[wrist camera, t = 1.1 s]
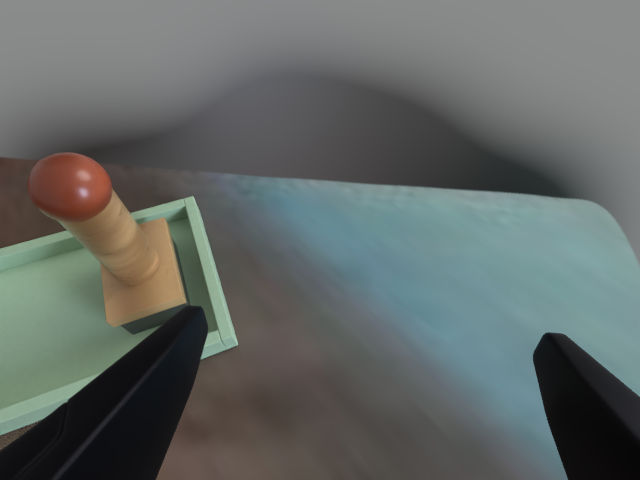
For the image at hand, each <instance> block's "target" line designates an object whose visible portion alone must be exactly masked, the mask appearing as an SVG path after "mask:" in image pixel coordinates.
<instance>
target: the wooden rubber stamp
mask: <svg viewBox="0 0 640 480" xmlns="http://www.w3.org/2000/svg"><path fill="white" fill-rule="evenodd" d="M27 187H28V193H29V196H30V198H31V200H32V202H33V203H34V205H35V206H36V207H37V208H38V209H39V210H40V211H41V212H42V213H44V214H45V215H46V216H48V217H50V218H52V219H55V220H57V221H58V222H59V223H60V224H61V225H62V226H63V227H64V228H65V229H66V230H67V231H68V232H70V233H71V234H72V235H73V236H74V237H75V238H76V239H77V240H78V241H79V242H80V243H81V244H82V245H83V246H84V247H85V248H86V249H87V250H88V251H89V252H90V253H91V254H92V255H93V256H94V257H95V258H96V259H97V260H98V261H99V262H100V267H101V276H102V286H103V295H104V305H105V314H106V322H107V323H108V324H110V325H111V326H113V327H116V326H119V325H120V326H122V327H123V328H124V329H126V330H127V331H128V332H130V333H131V334H133V335H134V334H137V333H140V332H142V331H145V330H148V329H151V328H154V327H157V326H160V325H163V324H164V323H165V322H166V321H168V320H169V319H170V318H171V317H173V316H174V315H175V314H176V313H178V312H179V311H180V310H181V309H183V308H184V307H185V306H188V305H190V300H189V296H188V292H187V287H186V283H185V279H184V275H183V270H182V266H181V262H180V258H179V253H178V249H177V245H176V243H175V242H174V240H173V238H172V237H171V232H170V228H169V224H168V223H167V221H166V219H165V218H164V217H163V218H159V219H156V220H152V221H149V222H145V223H142V224H137V223H136V221H135V220H134V218H133V217H132V216H131V214H130V213H129V211H128V210H127V208H126V207H125V206H124V204H123V203H122V201H121V200H120V198H119V197H118V196H117V194H116V193H115V191H114V190H113V189H112V183H111V180H110V178H109V176H108V174H107V172H106V171H105V170H104V168H103V167H102V166H101V165H99V164H98V163H97V162H95V161H94V160H92V159H91V158H88V157H86V156H84V155H81V154H77V153H69V152H65V153H56V154H52V155H50V156H47V157H45V158H43V159H42V160H40V161H39V162H38V163H37V164H36V165H35V166H34V167H33V168H32V170H31V172H30V174H29V177H28V183H27Z"/></svg>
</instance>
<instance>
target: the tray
mask: <svg viewBox="0 0 640 480" xmlns="http://www.w3.org/2000/svg"><path fill="white" fill-rule="evenodd" d="M130 214H131V216H132V217H133V218H134V220H135V221H136V223H137V224H142V223H145V222H149V221H152V220H156V219H159V218H163V217H164V218H165V219H166V221H167V223H168V224H169V228H170V232H171V237H172V238H173V240H174V242H175V243H176V245H177V249H178V253H179V258H180V262H181V266H182V270H183V275H184V279H185V283H186V287H187V292H188V296H189V300H190V305H194V306H201V307H202V308H203V309H204V313H205V316H206V320H207V324H208V334H207V338H206V342H205V345H204V349H203V353H202V356H201V359H203V358H206V357H209V356H211V355H214V354H217V353H219V352H222V351H224V350H227V349H230V348H232V347H235V346H238V342H237V339H236V335H235V332H234V328H233V325H232V321H231V318H230V314H229V311H228V308H227V304H226V301H225V297H224V294H223V290H222V287H221V283H220V280H219V276H218V273H217V269H216V266H215V262H214V259H213V256H212V252H211V249H210V245H209V242H208V238H207V235H206V231H205V228H204V224H203V221H202V217H201V214H200V211H199V208H198V206H197V204H196V201H195V199H194V197H193V196H191V197H188V198H184V200H183V199H180V200H177V201H173V202H169V203H166V204H162V205H158V206H155V207H151V208H147V209H144V210H140V211H136V212H133V213H130ZM160 326H161V325H160ZM160 326H157V327H154V328H151V329H148V330H145V331H142V332H140V333H137V334H134V335H133V334H131V333H130V332H128V331H127V330H126V329H124V328H123V327H122V326H120V325H119V326H116V327H113V326H111V325H110V324H108V323H107V322H106V314H105V305H104V295H103V286H102V276H101V267H100V262H99V261H98V260H97V259H96V258H95V257H94V256H93V255H92V254H91V253H90V252H89V251H88V250H87V249H86V248H85V247H84V246H83V245H82V244H81V243H80V242H79V241H78V240H77V239H76V238H75V237H74V236H73V235H72V234H71V233H70V232H68V231H63V232H59V233H56V234H52V235H48V236H45V237H41V238H38V239H34V240H30V241H27V242H23V243H19V244H16V245H12V246H8V247H5V248H1V249H0V435H3V434H5V433H8V432H11V431H13V430H16V429H19V428H21V427H24V426H27V425H29V424H32V423H35V422H37V421H40V420H42V419H44V418H45V417H47V416H48V415H49V414H50V413H52V412H53V411H54V410H56V409H57V408H58V407H59V406H61V405H62V404H63V403H65V402H67V401H68V399H70V398H71V397H72V396H73V395H75V394H76V393H77V392H78V391H80V390H81V389H82V388H83V387H85V386H86V385H87V384H88V383H90V382H91V381H92V380H93V379H95V378H96V377H97V376H98V375H100V374H101V373H102V372H103V371H105V370H106V369H107V368H108V367H110V366H111V365H112V364H114V363H115V362H116V361H117V360H119V359H120V358H121V357H122V356H124V355H125V354H126V353H127V352H129V351H130V350H131V349H132V348H134V347H135V346H136V345H137V344H139V343H140V342H141V341H142V340H144V339H145V338H146V337H147V336H149V335H150V334H151V333H152V332H154V331H155V330H156V329H158V328H159V327H160Z"/></svg>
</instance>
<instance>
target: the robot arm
mask: <svg viewBox="0 0 640 480" xmlns="http://www.w3.org/2000/svg"><path fill="white" fill-rule="evenodd" d="M207 334H208V324H207V320H206V316H205V313H204V309H203V308H202V307H201V306H194V305H188V306H185V307H184V308H183V309H181V310H180V311H179V312H178V313H176V314H175V315H174V316H173V317H171V318H170V319H169V320H168V321H166V322H165V323H164V324H163V325H161V326H160V327H159V328H158V329H156V330H155V331H154V332H152V333H151V334H150V335H149V336H147V337H146V338H145V339H144V340H142V341H141V342H140V343H139V344H137V345H136V346H135V347H134V348H132V349H131V350H130V351H129V352H127V353H126V354H125V355H124V356H122V357H121V358H120V359H119V360H117V361H116V362H115V363H114V364H112V365H111V366H110V367H108V368H107V369H106V370H105V371H103V372H102V373H101V374H100V375H98V376H97V377H96V378H95V379H93V380H92V381H91V382H90V383H88V384H87V385H86V386H85V387H83V388H82V389H81V390H80V391H78V392H77V393H76V394H75V395H73V396H72V397H71V398H70V399H68V401H67V402H65V403H63V404H62V405H61V406H59V407H58V408H57V409H56V410H54V411H53V412H52V413H50V414H49V415H48V416H47V417H45V418H44V419H43V420H41V421H40V422H39V423H38V424H36V425H35V426H34V427H32V428H31V429H30V430H28V431H27V432H26V433H24V434H23V435H22V436H20V437H19V438H17V439H16V440H15V441H13V442H12V443H11V444H9V445H8V446H6V447H5V448H4V449H2V450H1V451H0V480H156V478H157V475H158V473H159V470H160V468H161V465H162V463H163V460H164V458H165V455H166V453H167V450H168V448H169V445H170V443H171V440H172V438H173V435H174V433H175V430H176V428H177V425H178V423H179V420H180V418H181V415H182V413H183V410H184V408H185V405H186V403H187V400H188V398H189V395H190V393H191V390H192V387H193V384H194V381H195V378H196V374H197V371H198V367H199V363H200V360H201V356H202V353H203V349H204V345H205V342H206V338H207ZM533 362H534V366H535V371H536V375H537V379H538V383H539V388H540V392H541V396H542V400H543V405H544V409H545V413H546V417H547V420H548V423H549V426H550V429H551V432H552V435H553V438H554V441H555V444H556V446H557V449H558V452H559V455H560V458H561V461H562V463H563V466H564V469H565V472H566V475H567V478H568V480H640V397H639V396H638V395H637V394H636V393H634V392H633V391H632V390H631V389H630V388H628V387H627V386H626V385H625V384H624V383H622V382H621V381H620V380H619V379H618V378H616V377H615V376H614V375H613V374H612V373H610V372H609V371H608V370H607V369H606V368H604V367H603V366H602V365H601V364H600V363H598V362H597V361H596V360H595V359H594V358H592V357H591V356H590V355H589V354H588V353H586V352H585V351H584V350H583V349H582V348H580V347H579V346H578V345H577V344H576V343H574V342H573V341H572V340H571V339H570V338H569V337H567V336H566V335H564V334H561V333H545V334H544V335H543V336H542V338H541V340H540V342H539V344H538V345H537V347H536V349H535V351H534V354H533Z"/></svg>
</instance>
